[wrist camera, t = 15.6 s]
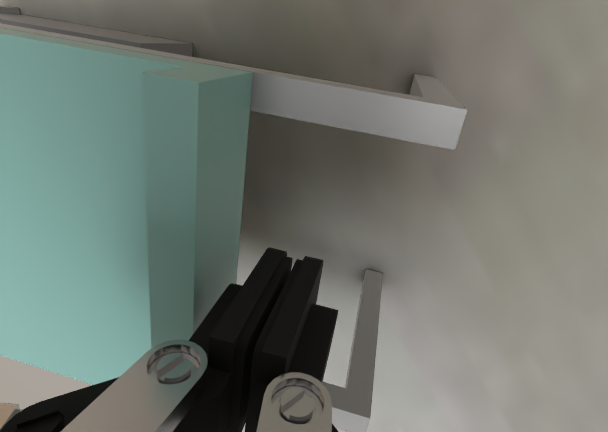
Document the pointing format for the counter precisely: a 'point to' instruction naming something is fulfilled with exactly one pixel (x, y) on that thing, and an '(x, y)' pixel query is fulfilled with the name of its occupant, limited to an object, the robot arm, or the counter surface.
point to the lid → (113, 200)
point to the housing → (321, 110)
